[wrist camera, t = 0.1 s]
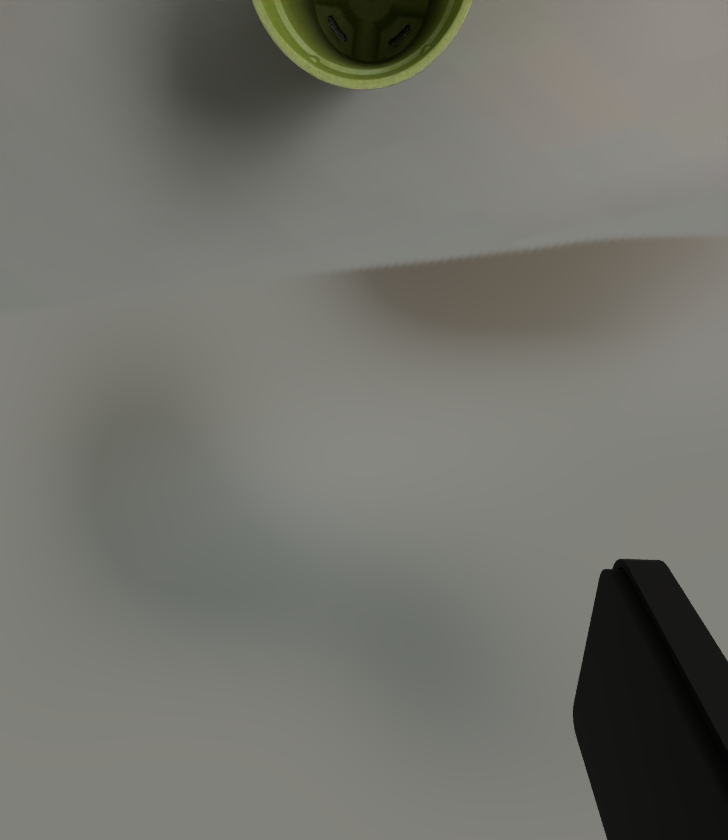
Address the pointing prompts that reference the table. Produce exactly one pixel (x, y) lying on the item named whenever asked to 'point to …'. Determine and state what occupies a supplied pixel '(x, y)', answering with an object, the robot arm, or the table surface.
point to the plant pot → (362, 37)
